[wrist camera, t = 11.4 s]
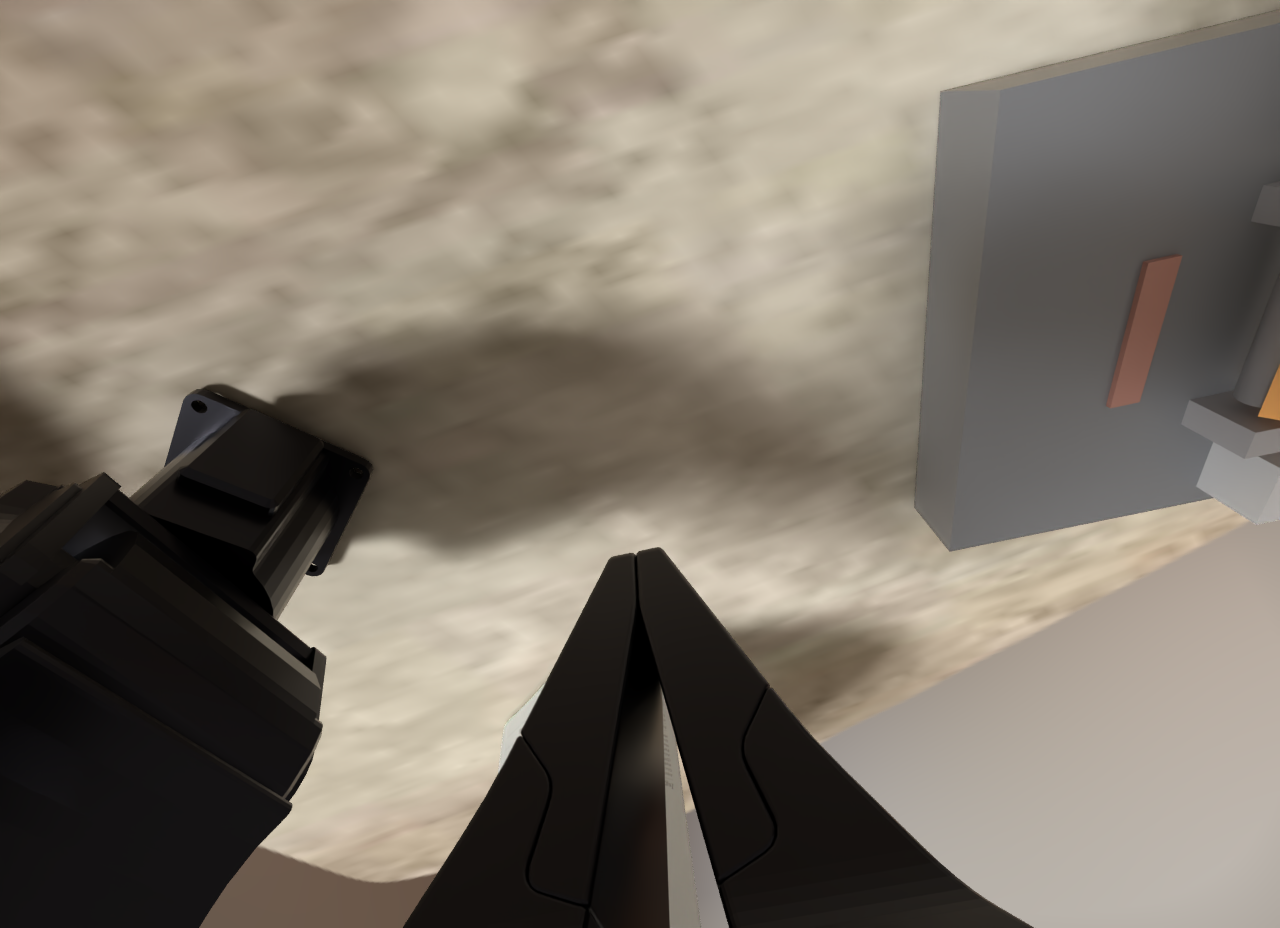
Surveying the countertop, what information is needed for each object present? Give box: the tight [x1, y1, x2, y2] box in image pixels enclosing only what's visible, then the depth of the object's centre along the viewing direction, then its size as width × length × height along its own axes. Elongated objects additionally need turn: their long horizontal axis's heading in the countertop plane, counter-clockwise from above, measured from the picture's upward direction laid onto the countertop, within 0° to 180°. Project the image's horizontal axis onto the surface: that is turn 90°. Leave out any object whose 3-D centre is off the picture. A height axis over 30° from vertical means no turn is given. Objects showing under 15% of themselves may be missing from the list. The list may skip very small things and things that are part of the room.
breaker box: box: [914, 10, 1280, 551], centre depth 19 cm, size 14×16×5 cm
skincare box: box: [498, 682, 701, 928], centre depth 25 cm, size 8×6×15 cm
